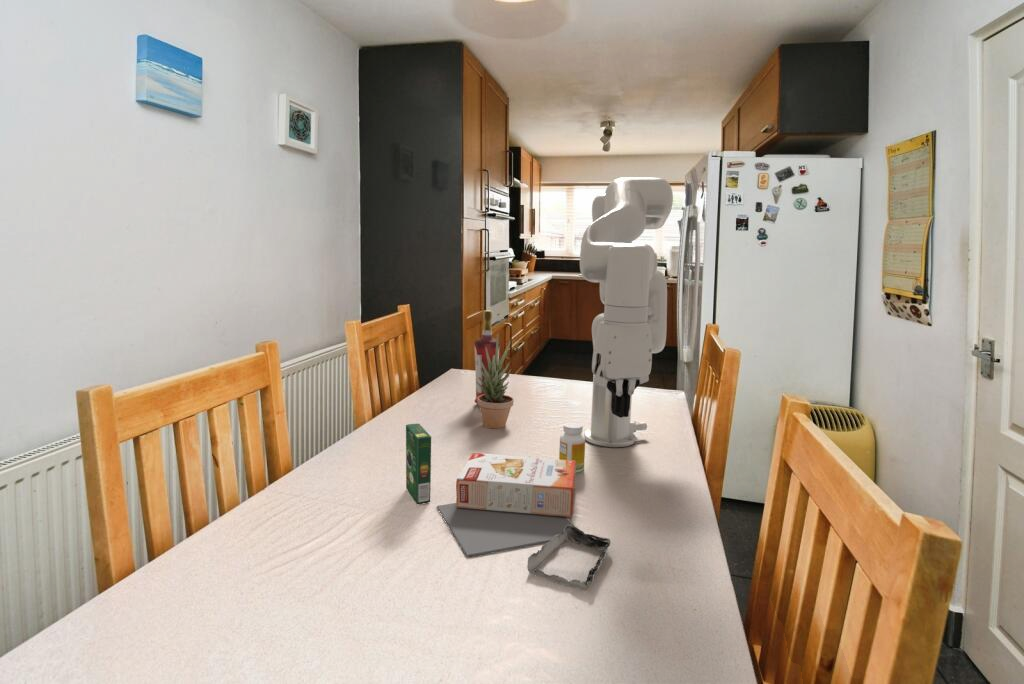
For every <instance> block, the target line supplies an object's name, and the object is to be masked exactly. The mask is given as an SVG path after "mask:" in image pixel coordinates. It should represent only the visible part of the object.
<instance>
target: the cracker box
mask: <svg viewBox="0 0 1024 684" xmlns="http://www.w3.org/2000/svg"><path fill="white" fill-rule="evenodd" d="M576 474H577V473H576V461H574V460H560V459H559V458H547V457H545V458H544V457H533V456H532V457H531V456H520V455H518V456H517V455H506V454H493V453H492V454H491V453H479V452H472V454H471V455H470V457H469V459H468V460H467V462H466V463H465V465H464V467H463V468H462V470H461V471H460V473H459V475H458V476H457V478H456V481H455V482H456V483H455V485H456V486H455V491H456V498H455V499H456V501H455V503H456V507H459V508H470V509H481V510H493V511H505V512H517V513H528V514H539V515H551V516H564V517H566V518H572V517H573V514H574V500H575V491H576V490H575V489H576Z"/></svg>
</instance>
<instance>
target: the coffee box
mask: <svg viewBox="0 0 1024 684" xmlns="http://www.w3.org/2000/svg"><path fill="white" fill-rule="evenodd" d="M405 462H406V464H405V477H406V478H405V482H406V483H405V485H406V487H405V488H406V490H407V492H408V494H409V495H410V496H411V497H412V499H413V501H414V503H415V504H416V505H417V504H419V505H424V504H423V503H425V504H429V503H428V502H430V503H431V492H432V491H431V489H432V487H431V483H432V482H431V479H432V478H431V475H432V472H431V471H432V435H430V433H429V432H427V430H426V429H425V428H424V427H423V426H422V425H421V424H420V423H408V424H406V425H405Z"/></svg>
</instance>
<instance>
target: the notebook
mask: <svg viewBox="0 0 1024 684" xmlns="http://www.w3.org/2000/svg"><path fill="white" fill-rule="evenodd" d="M436 508H438V509H437V510H438V511H440V512H439V514H440V513H441V514H442V515H441V514H440V515H441V517H442V516H443V517H442V519H443V518H444V519H443V520H444V522H445V521H446V522H445V523H446V526H449V527H448V528H449V530H450V531H452V532H451V533H452V535H453V537H454V538H455V540H456V539H457V540H456V541H457V542H459V543H458V545H459V544H460V545H459V546H460V548H461V547H462V548H461V550H462V551H463V552H465V553H464V554H465V556H466V555H467V556H466V558H471V556H472V557H476V556H477V555H478V556H482V555H488V554H493V553H492V552H494V553H499V552H503V551H504V552H505V551H509V550H515V549H519V547H521V548H525V546H526V547H531V546H536V544H537V545H541V544H545V543H548V542H549V541H550V539H552V537H553V536H554V535H558V534H559V536H558V537H560V536H561V534H562V531H563V530H565V527H566V526H567V525H571V526H575V524H573V522H571V520H569V519H568V517H564V516H551V515H539V514H528V513H517V512H505V511H493V510H481V509H470V508H459V507H456V502H453V503H447V504H441V505H437V506H436ZM514 548H515V549H514Z"/></svg>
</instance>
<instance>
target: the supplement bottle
mask: <svg viewBox="0 0 1024 684" xmlns="http://www.w3.org/2000/svg"><path fill="white" fill-rule="evenodd" d="M583 427H584V426H583V424H582V423H578V422H566V423H564V424H563V432H562V433H561V434H560V436H559V453H558V454H559V455H558V459H560V460H574V461H576V474H577V473H581V472H582V471H584V469H585V457H586V456H585V455H586V439H585V437H584V433H583Z"/></svg>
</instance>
